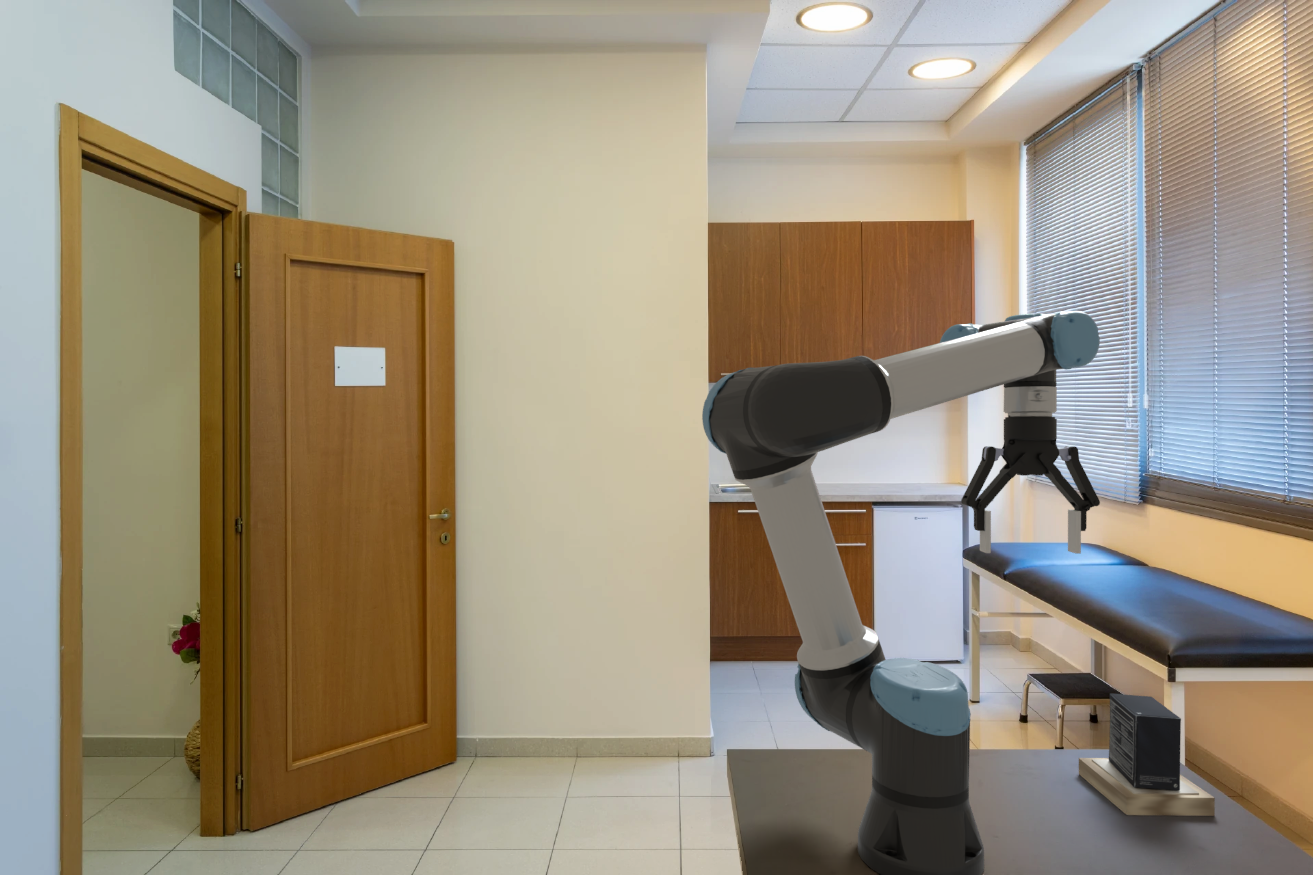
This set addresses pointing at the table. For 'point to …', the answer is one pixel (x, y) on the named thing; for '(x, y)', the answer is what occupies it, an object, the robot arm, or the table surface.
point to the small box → (1145, 742)
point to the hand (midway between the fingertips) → (1029, 552)
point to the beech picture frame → (1145, 792)
